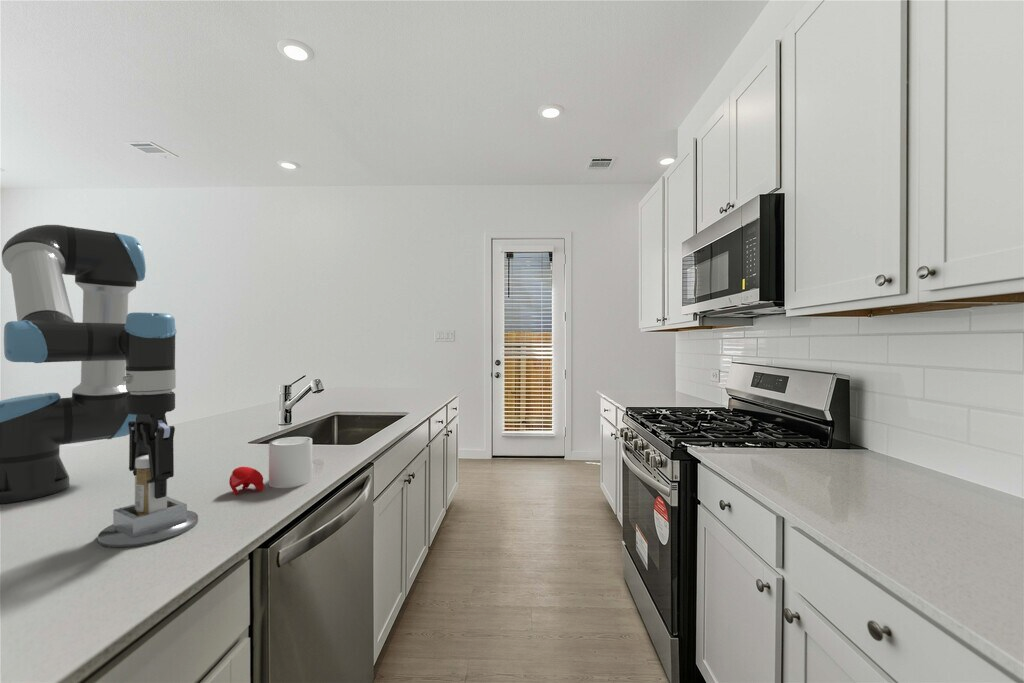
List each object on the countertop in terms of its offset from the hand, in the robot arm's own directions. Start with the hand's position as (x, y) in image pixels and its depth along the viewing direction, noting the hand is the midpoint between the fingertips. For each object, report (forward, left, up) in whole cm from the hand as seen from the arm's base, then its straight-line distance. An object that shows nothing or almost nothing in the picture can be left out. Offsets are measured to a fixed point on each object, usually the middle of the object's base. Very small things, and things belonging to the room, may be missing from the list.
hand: (150, 510), depth 86 cm
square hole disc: (0, 0, -4) cm, 4 cm away
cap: (-6, +22, -4) cm, 23 cm away
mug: (-5, +33, -4) cm, 33 cm away
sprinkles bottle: (0, 0, -3) cm, 3 cm away
